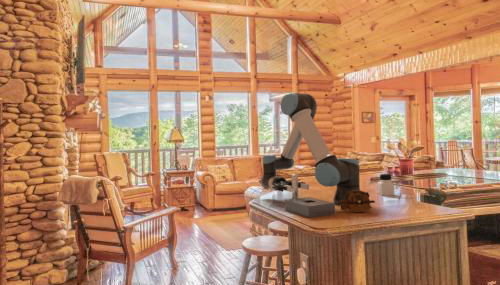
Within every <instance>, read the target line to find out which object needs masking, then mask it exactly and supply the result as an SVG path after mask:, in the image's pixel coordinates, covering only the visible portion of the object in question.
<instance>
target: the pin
mask: <svg viewBox="0 0 500 285" xmlns="http://www.w3.org/2000/svg"><path fill="white" fill-rule="evenodd" d="M291 182H292V192H291V197H292V198H291V199H298V198H300V197H299V188H298V182H299V174H297V173H296V174H295V173H294V174H293V173H292V174H291Z"/></svg>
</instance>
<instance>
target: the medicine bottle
mask: <svg viewBox="0 0 500 285" xmlns="http://www.w3.org/2000/svg"><path fill="white" fill-rule="evenodd" d="M377 194H378V195H380V196H382V197H385V196H387V197H388V196H392V197H393V196H395V183H394V182H393V181H392V175H391V174H390V173H381V174H380V175H379V181H378V182H377Z"/></svg>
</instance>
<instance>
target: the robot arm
mask: <svg viewBox="0 0 500 285" xmlns="http://www.w3.org/2000/svg"><path fill="white" fill-rule="evenodd" d="M317 108H318V104H317V101H316V99H315V97H314V96H313V95H311V94H309V93H300V92H287V93H286V94H284V95H283V97H282V98H281V102H280V110H281V113H282V114H284V115H286V116H288V117H289V119H290V121H291V122H292V123H294V124H293V126H292V129H291V131H290V133H289V136H288V138H287V140H286V143H285V144H284V147H283V149H282V152H281V154H280V156H278V157H277V156H276V154H263V156H262V173H263V174H262V176H261V178H260V184H261V186H263V187H264V188H266V189H271V190H274V191H276V192H277V191H278V192H285V191H286V192H291V193H292V181H289V180H287V179H286V178H285V177H283V176H277V171H280V170H290V169H291V168H293V167H294V166H295V159H294V157H295V155H296V154H297V151H298V149H299V146H300V145H301V142H302V140H304V141H305V144H306V146H307V147H308V150H309V151H310V153H311V155H312V158H313V159H314V161H315V162H314V167H315V169H314V177H315V179H316V181H317V183H318V184H320V185H321V186H323V187H335V186H336V187H335V188H336V189H335V192H334V196H333V201H332V203H335V205H339V206H340V204H338V202H339V201H341V200H347V198H346V193H347V192H351V191H354V190H359V191H362V190H361V187H360V178H361V177H360V167H361V166H360V162H359V160H358V159H356V158H345V157H339V158H338V157H337V155H336V154H333V153H331V151H330V149H329V147H328V144H327V143H326V142H325V140H324V138H323V136H322V134H321V132H320V131H319V129H318V127H317V125H316V123H315V121H314V118H315V116H316V113H317ZM298 189H302V190H305V191H306V190H307V191H309V190H310V184H308V183H306V182H304V181H301V182H300V181H298Z"/></svg>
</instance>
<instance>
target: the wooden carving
mask: <svg viewBox="0 0 500 285" xmlns="http://www.w3.org/2000/svg"><path fill="white" fill-rule="evenodd" d="M346 198H347V200H341V201H339V202H338V204H340V205H339V206H340V209H341V211H351V212H354V213H362V212H363V213H364V212H366V211H369V210H371V209H372V208H373V207H372V205H371V204H374V203H375V202H376V201H375V200H373V199H372V200H370V193H369V192H367V191H366V192H365V191H363V190H361V191H359V190H354V191H351V192H347V193H346Z"/></svg>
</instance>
